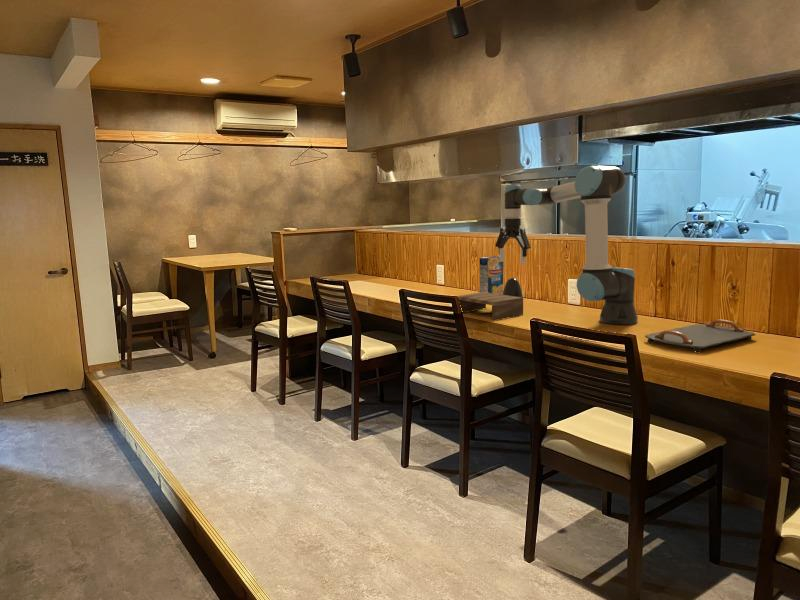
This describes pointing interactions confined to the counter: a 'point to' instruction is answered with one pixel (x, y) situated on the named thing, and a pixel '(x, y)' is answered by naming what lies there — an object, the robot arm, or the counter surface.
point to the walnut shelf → (493, 304)
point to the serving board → (701, 335)
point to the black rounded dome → (512, 288)
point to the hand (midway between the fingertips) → (512, 262)
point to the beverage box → (491, 275)
